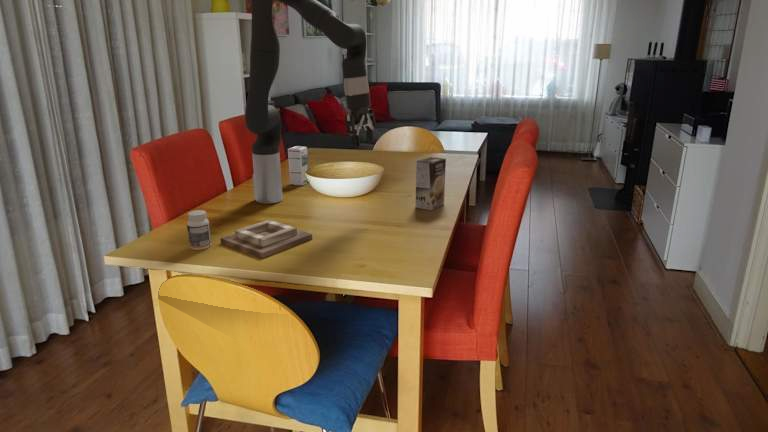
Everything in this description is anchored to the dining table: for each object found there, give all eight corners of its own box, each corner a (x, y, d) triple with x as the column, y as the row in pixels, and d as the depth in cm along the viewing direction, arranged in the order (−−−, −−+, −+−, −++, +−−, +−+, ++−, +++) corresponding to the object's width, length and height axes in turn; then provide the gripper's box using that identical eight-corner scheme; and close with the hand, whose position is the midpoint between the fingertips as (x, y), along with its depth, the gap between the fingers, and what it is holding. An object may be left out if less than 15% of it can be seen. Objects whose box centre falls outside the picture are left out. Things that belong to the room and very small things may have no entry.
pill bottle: (192, 243, 148) (188, 209, 144) (213, 242, 148) (210, 208, 145) (187, 251, 142) (182, 216, 139) (209, 250, 143) (205, 215, 140)
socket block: (220, 243, 148) (219, 231, 147) (270, 226, 161) (270, 215, 160) (262, 258, 137) (261, 245, 136) (312, 238, 150) (311, 227, 149)
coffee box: (431, 211, 175) (432, 163, 170) (414, 207, 178) (415, 161, 173) (444, 204, 182) (446, 158, 177) (428, 201, 186) (429, 156, 180)
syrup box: (303, 185, 206) (301, 149, 202) (289, 184, 208) (287, 148, 204) (309, 182, 212) (307, 146, 207) (296, 181, 213) (294, 145, 209)
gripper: (358, 91, 169) (364, 141, 174) (334, 96, 158) (341, 149, 162) (378, 89, 166) (384, 140, 170) (355, 94, 154) (362, 149, 159)
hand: (363, 144), depth 166 cm, fingers open, 8 cm apart
